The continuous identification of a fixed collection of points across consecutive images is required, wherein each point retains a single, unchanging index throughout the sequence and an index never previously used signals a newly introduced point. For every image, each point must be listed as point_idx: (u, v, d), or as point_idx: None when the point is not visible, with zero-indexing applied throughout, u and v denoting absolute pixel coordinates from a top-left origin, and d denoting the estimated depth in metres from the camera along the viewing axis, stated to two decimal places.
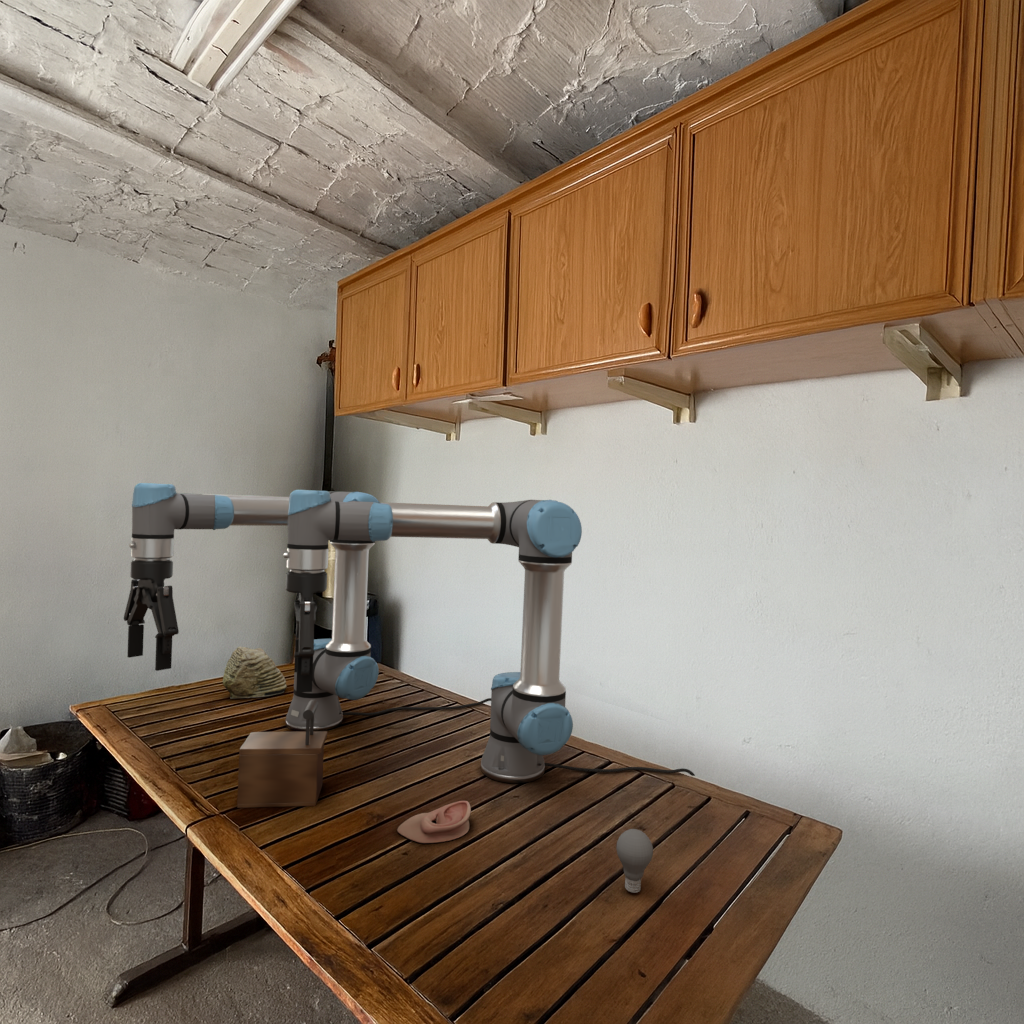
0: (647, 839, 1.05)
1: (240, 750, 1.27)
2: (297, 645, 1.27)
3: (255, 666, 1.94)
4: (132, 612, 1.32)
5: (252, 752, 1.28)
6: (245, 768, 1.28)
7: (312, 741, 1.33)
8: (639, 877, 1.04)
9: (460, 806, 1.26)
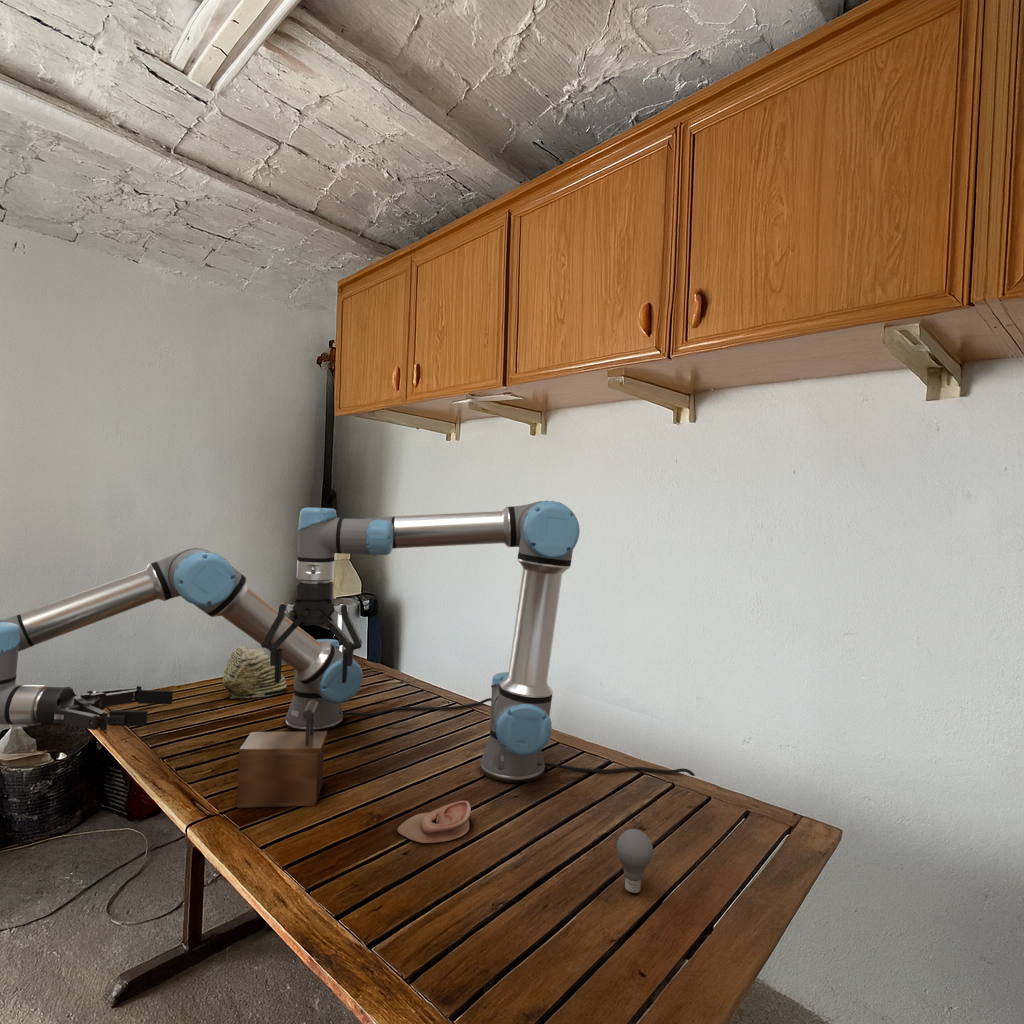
0: (647, 839, 1.05)
1: (240, 750, 1.27)
2: (279, 656, 1.32)
3: (255, 666, 1.94)
4: None
5: (252, 752, 1.28)
6: (245, 768, 1.28)
7: (312, 741, 1.33)
8: (639, 877, 1.04)
9: (460, 806, 1.26)
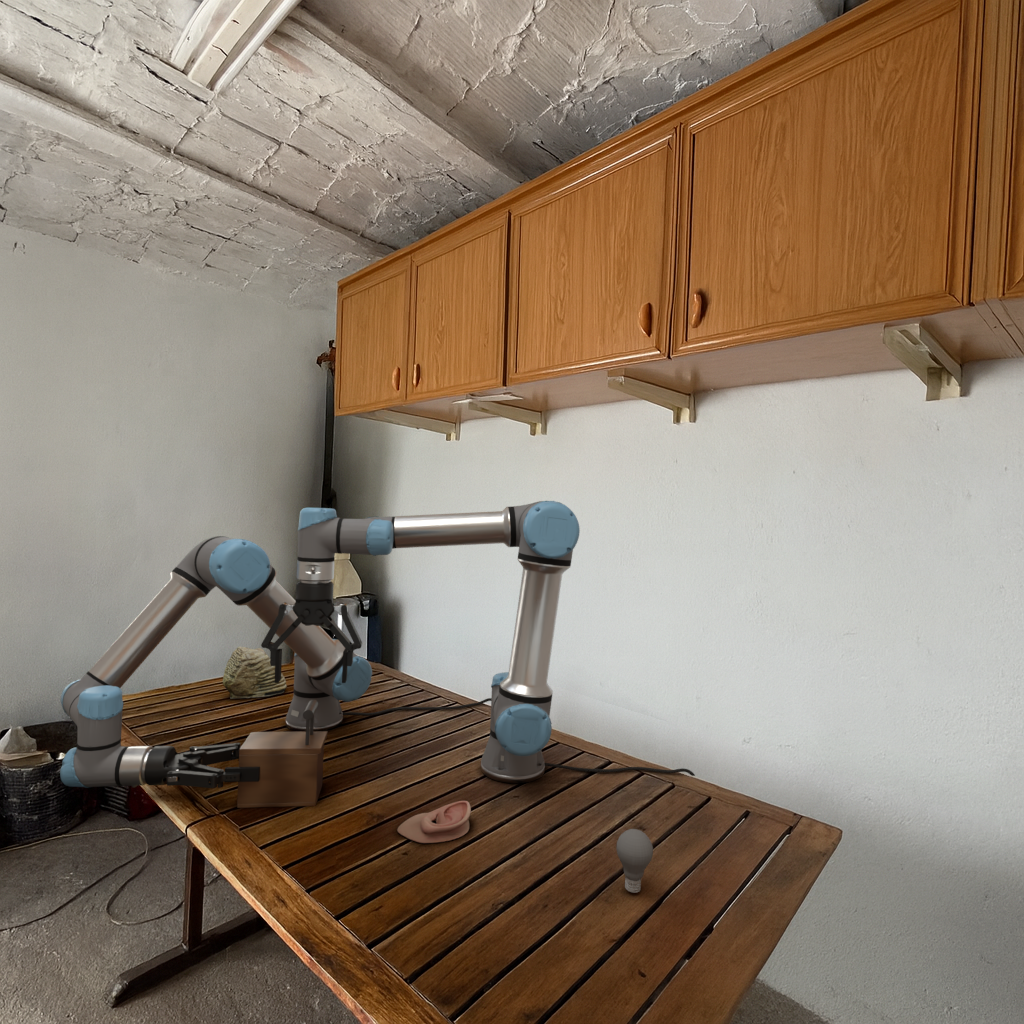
0: (647, 839, 1.05)
1: (240, 750, 1.27)
2: (279, 656, 1.32)
3: (255, 666, 1.94)
4: None
5: (252, 752, 1.28)
6: None
7: (312, 742, 1.33)
8: (639, 877, 1.04)
9: (460, 806, 1.26)
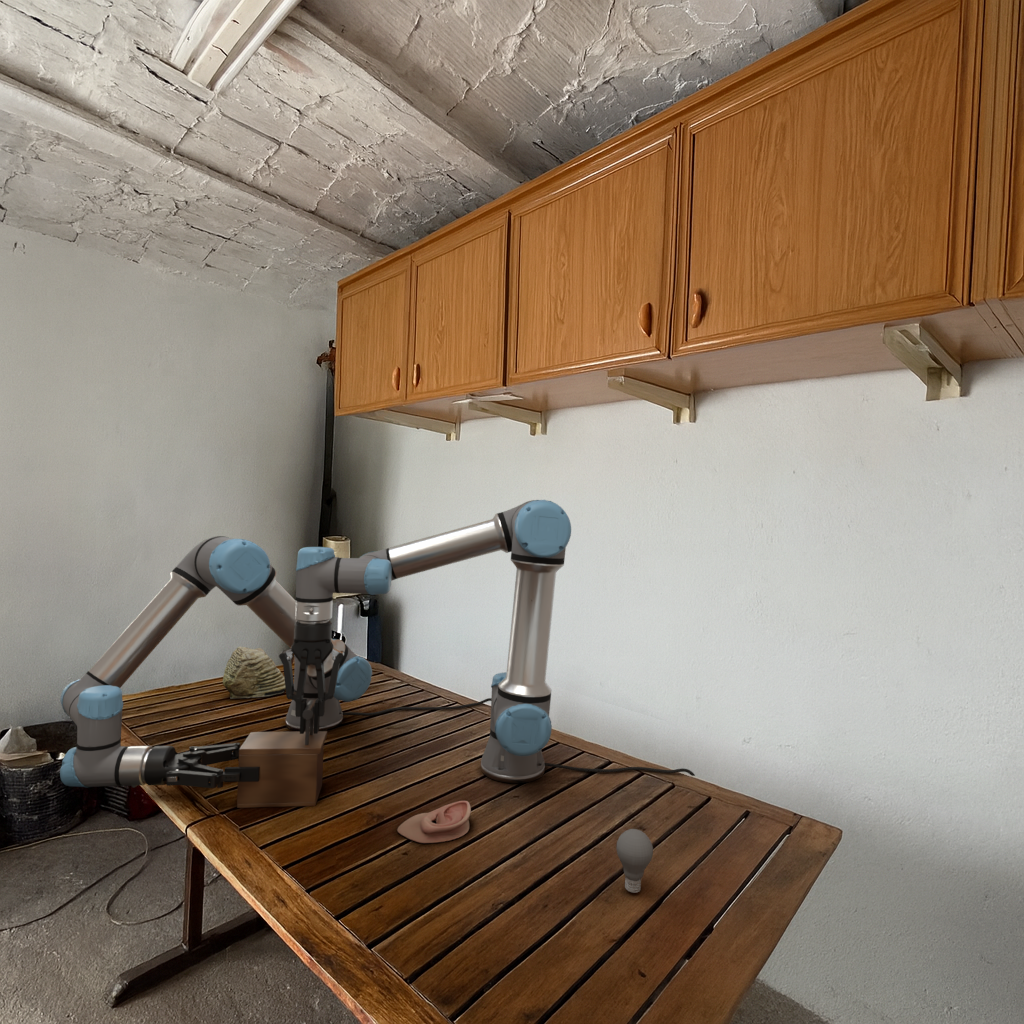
0: (647, 839, 1.05)
1: (240, 750, 1.27)
2: (304, 707, 1.33)
3: (255, 666, 1.94)
4: None
5: (252, 752, 1.28)
6: None
7: (312, 741, 1.33)
8: (639, 877, 1.04)
9: (460, 806, 1.26)
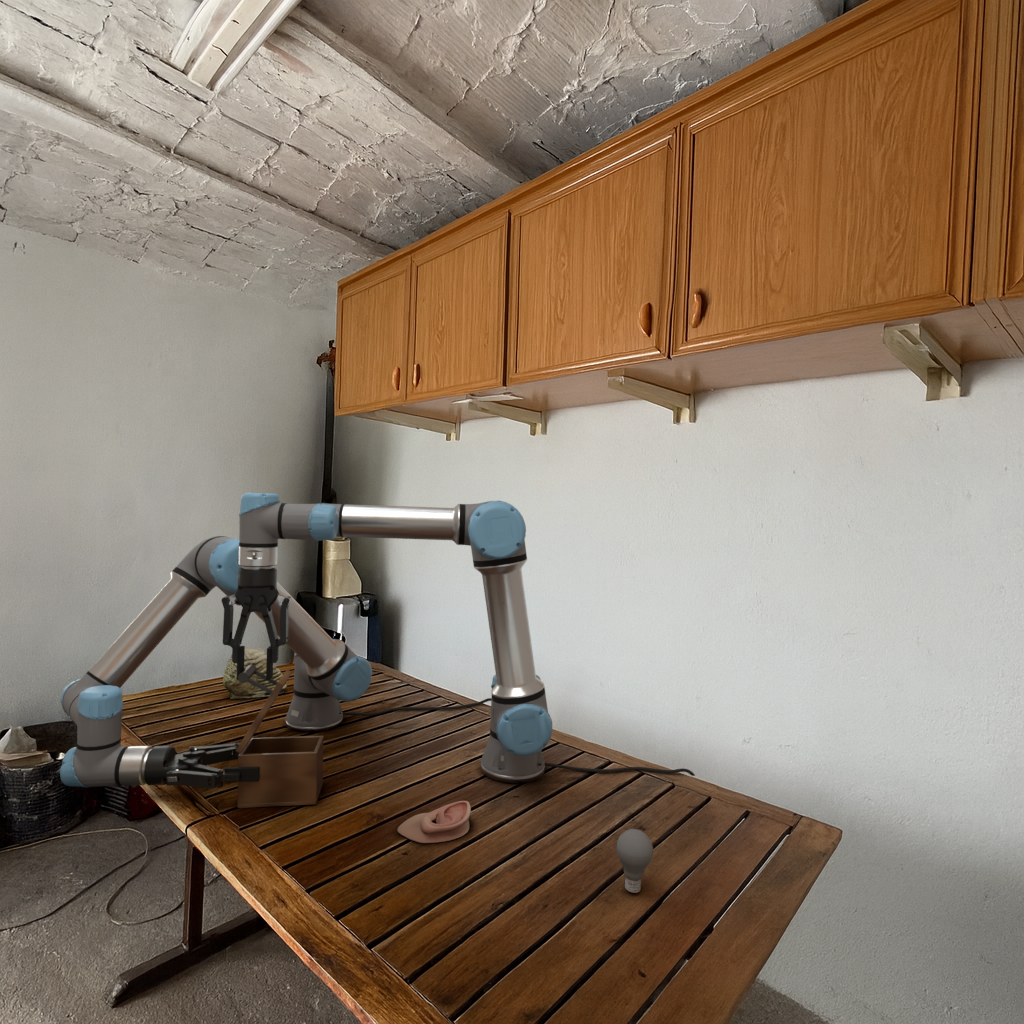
0: (647, 839, 1.05)
1: (237, 750, 1.27)
2: (241, 653, 1.30)
3: None
4: None
5: (245, 741, 1.27)
6: None
7: None
8: (639, 877, 1.04)
9: (460, 806, 1.26)
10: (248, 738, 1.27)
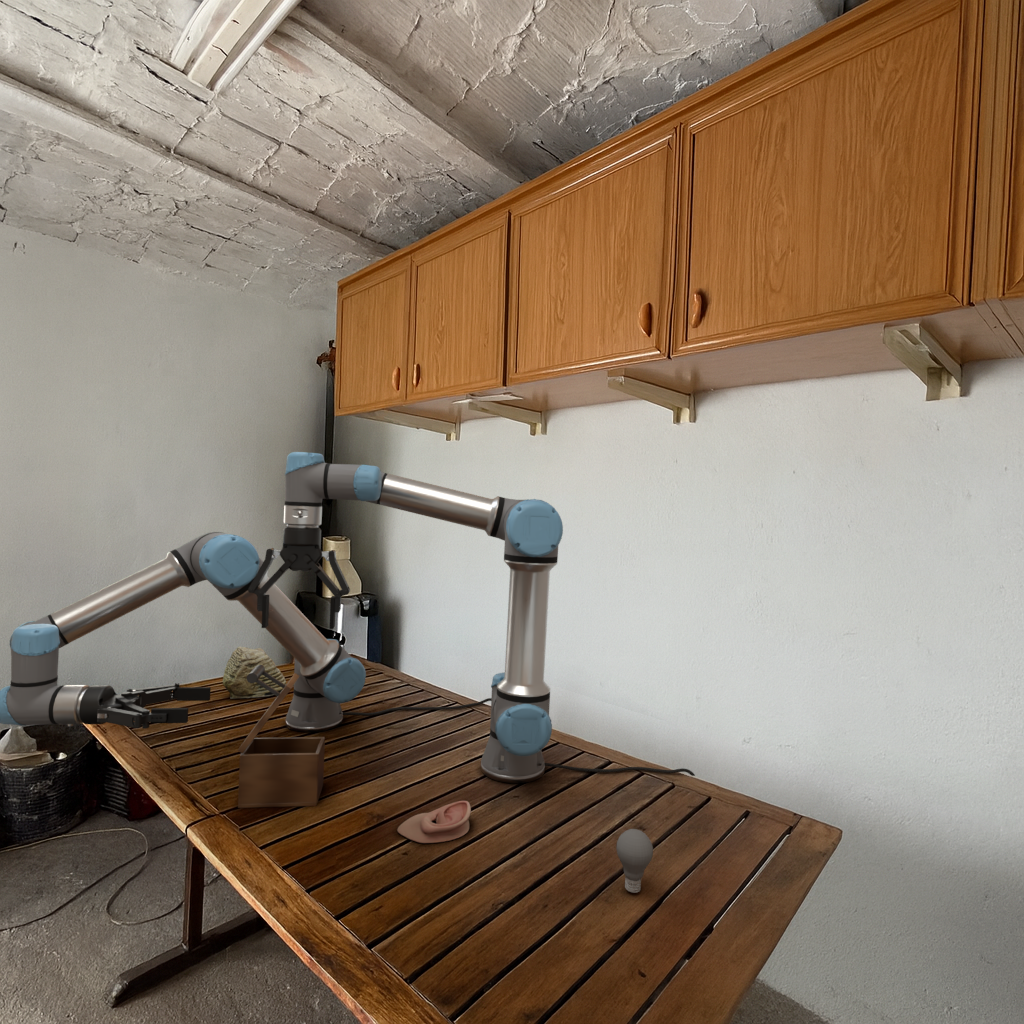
0: (647, 839, 1.05)
1: (239, 750, 1.27)
2: (266, 601, 1.31)
3: (255, 666, 1.94)
4: None
5: (248, 741, 1.28)
6: (246, 768, 1.28)
7: None
8: (639, 877, 1.04)
9: (460, 806, 1.26)
10: (251, 739, 1.28)
